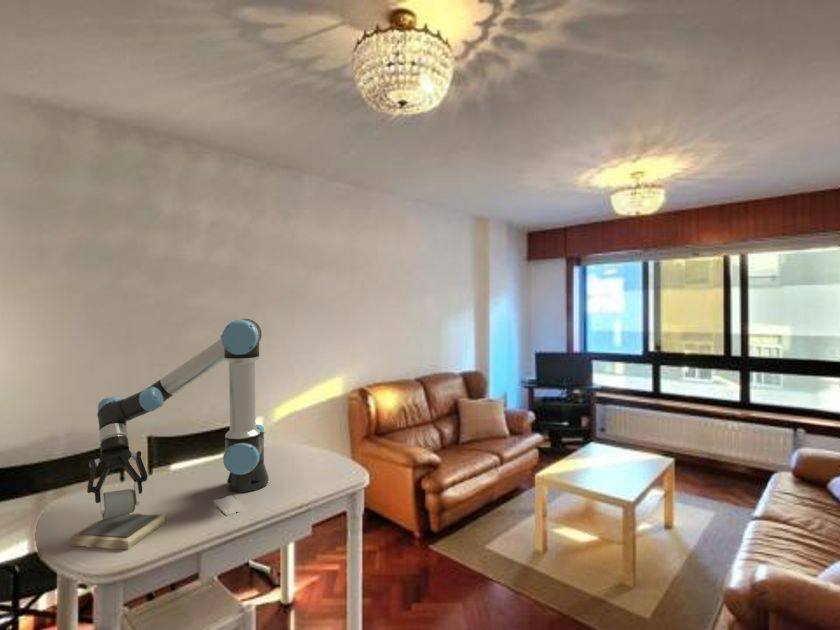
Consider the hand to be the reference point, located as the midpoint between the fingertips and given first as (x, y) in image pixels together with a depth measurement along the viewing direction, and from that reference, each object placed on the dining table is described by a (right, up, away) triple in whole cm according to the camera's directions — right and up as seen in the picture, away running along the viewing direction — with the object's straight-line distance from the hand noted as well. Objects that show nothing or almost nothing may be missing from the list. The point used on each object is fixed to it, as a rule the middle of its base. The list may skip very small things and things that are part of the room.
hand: (120, 507), depth 134 cm
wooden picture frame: (-2, -9, +3) cm, 10 cm away
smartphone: (+23, -10, +23) cm, 34 cm away
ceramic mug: (-4, -4, +4) cm, 6 cm away
